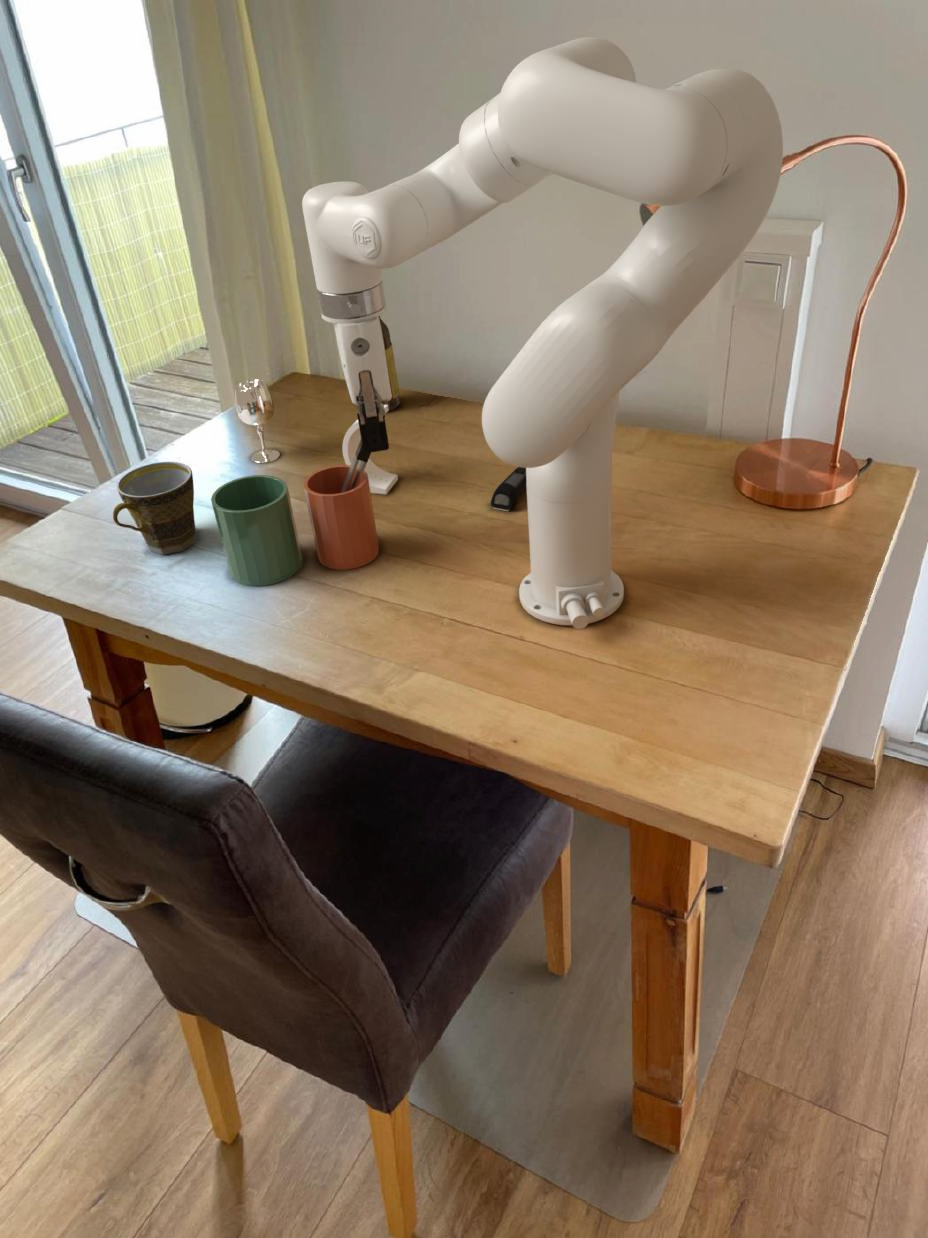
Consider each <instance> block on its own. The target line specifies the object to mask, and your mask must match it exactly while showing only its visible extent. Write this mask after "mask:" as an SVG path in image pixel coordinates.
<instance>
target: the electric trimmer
mask: <svg viewBox="0 0 928 1238" xmlns="http://www.w3.org/2000/svg"><path fill="white" fill-rule="evenodd" d="M526 484H527V480H526V468H522V467H516V468H515V469H514V470H513V471H512V472H511V473H510V474H509V475H508V476H507V477H506V478H505V479H504V480H503V481H502V482H501V483H500V484H499V485H498V486H497V487H496V489H495V490H494V492H493V494H492V497H491V499H490V505H491V507H492V508H493V510H499V511H504V512H509V511H510V510H514V509H515V508H516V506H517V502H518V498H519V497H520V495H521V494H522V493H523V492H524V490H525V489H527V486H526Z"/></svg>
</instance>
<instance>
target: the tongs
mask: <svg viewBox="0 0 928 1238" xmlns="http://www.w3.org/2000/svg"><path fill="white" fill-rule="evenodd" d="M380 403H381V402H380ZM375 406H376V404H375ZM381 409H382V416H383V418H385V419H386V414H385V408H384V405H383V403H381ZM371 454H372V452H371V453H365V452H364V451H363V445H362V439H361V440H360V443H359V445H358V448H357V450H356V454H355V456H354V459H353V461H352V464H351V467H350V469H349V472H348V475H347V477H346V480H345V482H344V485H343V488H342V490H341V493H343V492H346V491H348V488H349V485H350V483H351V480H352V478H353V475H354V472H355V470H356V467H357V465H358V462H359V460H360V461H361V463H360V466H359V469H358V471H357V474H356V476H355V479H354V482H353V484H352V487H351V489H350V490H352V489H354V488H356V487H358V485H359V482H360V480H361V477H362V474H363V472H364V469H365V467H366V464H367V462H368V459H370V456H371Z"/></svg>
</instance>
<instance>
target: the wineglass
mask: <svg viewBox="0 0 928 1238" xmlns="http://www.w3.org/2000/svg"><path fill="white" fill-rule="evenodd" d="M234 403H235V410H236V413H237V416H238V418H239V420H240V421H242V422H243V424H246V425H248V426H253V427H256V432H257V434H258V436H259V439H260V442H261V448H262V449H261V450H259V451H257V452H255V453H254V454H252V457H251V460H252V461H253V462H254V463H257V464H267V463H271V462H274V461H275V460H277V459H279V457H280V455H281V454H280V451H278V450H276V449H267V447H266V444H265V440H264V439H265V438H264V427H263V425H265V424H267V423H268V422H270V420H271V419H272V418H273V416H274V414H275V413H274V412H275V403H274V399H273V396H272V393H271V391H270V389H269V387H268V385H267V383H266V381H265V380H262V379H248V380H244V381H241V382H239V383H238V384H236V385H235V387H234Z"/></svg>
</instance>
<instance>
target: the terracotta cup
mask: <svg viewBox="0 0 928 1238" xmlns="http://www.w3.org/2000/svg"><path fill="white" fill-rule="evenodd" d="M350 467H351V465H346V464H338V465H331V466H326V467H323V468H320V469H317V470H316V471H314V472H312V473H310V474H309V475H308V476H307V477H305V479H304V481H303V490H304V495H305V500H306V505H307V509H308V510H307V511H308V515H309V520H310V526H311V530H312V535H313V540H314V546H315V550H316V555H317V558H318V561H319V563H320V564H321V565H322V566H323V567H326V568H328V569H331V570H337V571H339V570H341V571H344V570H346V571H347V570H352V569H353V570H354V569H358V568H361V567H363V566H365V565H367V564H370V563H371V562H372V561H374V560H375V559H376V557H377V556H378V555H379V552H380V546H379V540H378V539H379V538H378V532H377V526H376V519H375V513H374V507H373V500H372V493H370V487H369V480H368V474H367V473H366V472H365V471H364V472H363V474H362V477H361V480H360V482H359V485H358V487H356V488H354V489H352V490H350V489H351V487H352V484H353V482H354V479H355V476H356V474H357V471H358V469H359V467H356V470H355V472H354V475H353V478H352V480H351V483H350V485H349V488H348V491H346V492H343V493H341V490H342V488H343V485H344V482H345V480H346V477H347V475H348V472H349V469H350Z"/></svg>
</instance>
